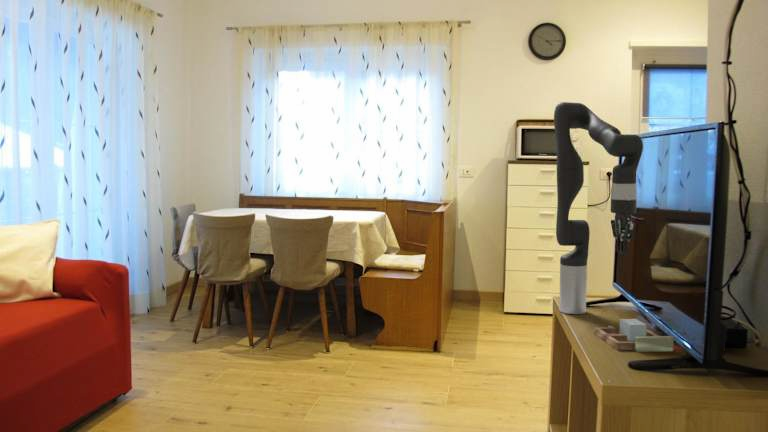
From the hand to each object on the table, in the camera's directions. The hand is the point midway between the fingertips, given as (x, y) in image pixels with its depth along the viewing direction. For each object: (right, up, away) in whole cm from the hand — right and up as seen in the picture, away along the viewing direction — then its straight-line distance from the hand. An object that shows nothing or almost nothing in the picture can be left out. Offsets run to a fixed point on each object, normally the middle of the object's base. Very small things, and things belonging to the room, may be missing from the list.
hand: (622, 252), depth 189 cm
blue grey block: (0, -26, -7) cm, 27 cm away
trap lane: (-2, -26, -11) cm, 28 cm away
